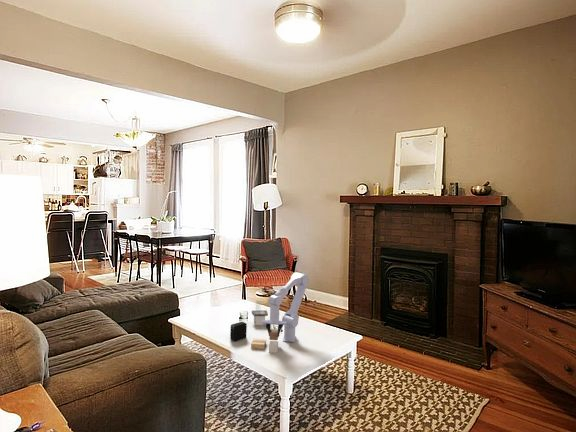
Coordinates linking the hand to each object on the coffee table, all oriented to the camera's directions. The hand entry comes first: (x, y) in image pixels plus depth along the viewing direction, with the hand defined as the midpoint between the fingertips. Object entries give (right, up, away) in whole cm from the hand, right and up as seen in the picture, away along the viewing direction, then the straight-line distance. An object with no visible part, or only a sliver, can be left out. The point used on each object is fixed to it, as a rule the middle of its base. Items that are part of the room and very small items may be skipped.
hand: (274, 335), depth 228 cm
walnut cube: (0, -2, 0) cm, 2 cm away
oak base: (-10, -6, -2) cm, 11 cm away
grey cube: (0, -7, -8) cm, 10 cm away
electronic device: (-24, -5, +9) cm, 26 cm away
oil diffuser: (-12, -4, +38) cm, 41 cm away
